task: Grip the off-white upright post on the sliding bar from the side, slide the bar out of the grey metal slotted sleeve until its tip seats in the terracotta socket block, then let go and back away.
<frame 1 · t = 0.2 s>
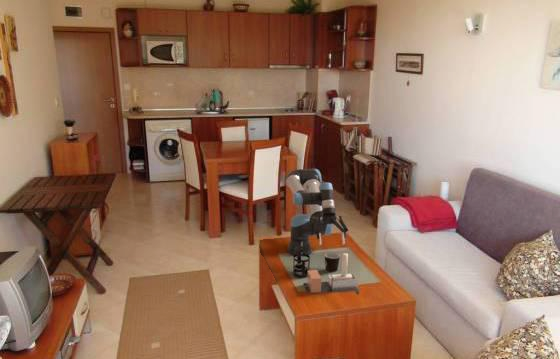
hand: (332, 244, 255), 15 cm above the table, tool tilted 35°, fingers open, 13 cm apart
slotted sleeve: (330, 289, 235), on the table
coffee mug: (331, 270, 257), on the table
socket block: (313, 287, 233), resting on slotted sleeve
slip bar: (340, 268, 233), point 11 cm above the table, slide at 0.0 cm
french press: (300, 276, 249), on the table
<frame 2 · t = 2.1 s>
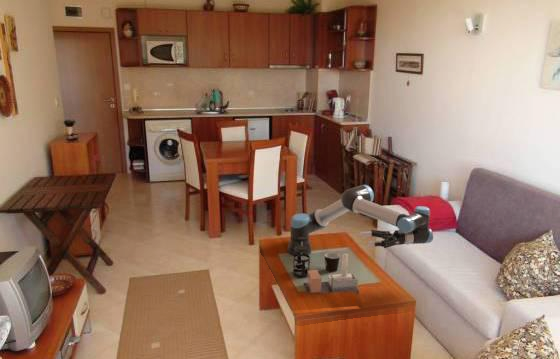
hand: (363, 239, 231), 27 cm above the table, tool horizontal, fingers open, 13 cm apart
nothing on the table moved.
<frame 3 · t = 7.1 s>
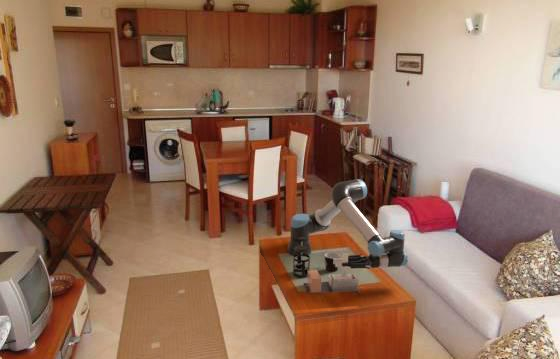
hand: (334, 262, 232), 15 cm above the table, tool horizontal, fingers closed on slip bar, 3 cm apart
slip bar: (340, 268, 233), point 11 cm above the table, slide at 0.0 cm, touching gripper
everything else where it was.
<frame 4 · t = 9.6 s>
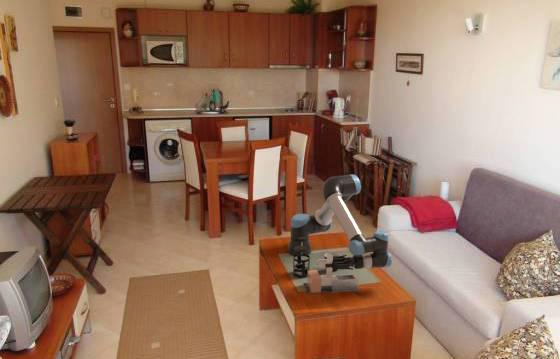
hand: (318, 263, 230), 15 cm above the table, tool horizontal, fingers closed on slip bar, 3 cm apart
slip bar: (325, 269, 232), point 11 cm above the table, slide at 8.1 cm, touching gripper
everything else where it was.
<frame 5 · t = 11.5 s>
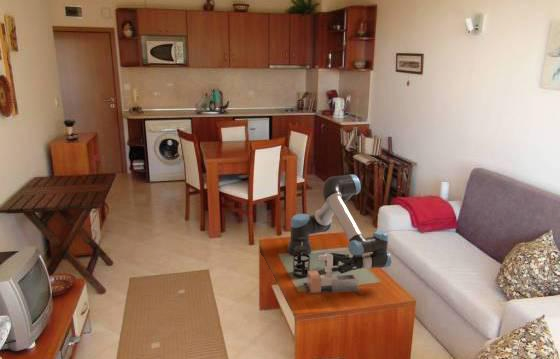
hand: (321, 263, 231), 15 cm above the table, tool horizontal, fingers open, 13 cm apart
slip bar: (325, 269, 232), point 11 cm above the table, slide at 8.0 cm
everything else where it was.
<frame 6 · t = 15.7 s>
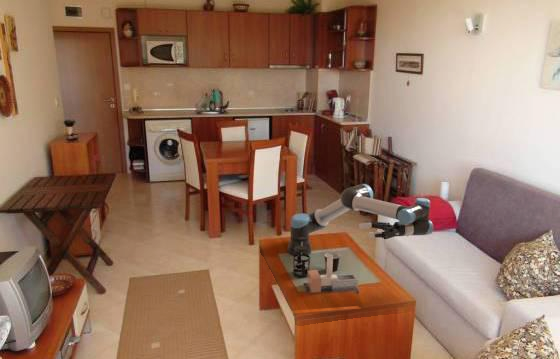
hand: (363, 230, 230), 32 cm above the table, tool horizontal, fingers open, 13 cm apart
nothing on the table moved.
at the end: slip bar slide at 8.0 cm; the gripper is holding nothing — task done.
